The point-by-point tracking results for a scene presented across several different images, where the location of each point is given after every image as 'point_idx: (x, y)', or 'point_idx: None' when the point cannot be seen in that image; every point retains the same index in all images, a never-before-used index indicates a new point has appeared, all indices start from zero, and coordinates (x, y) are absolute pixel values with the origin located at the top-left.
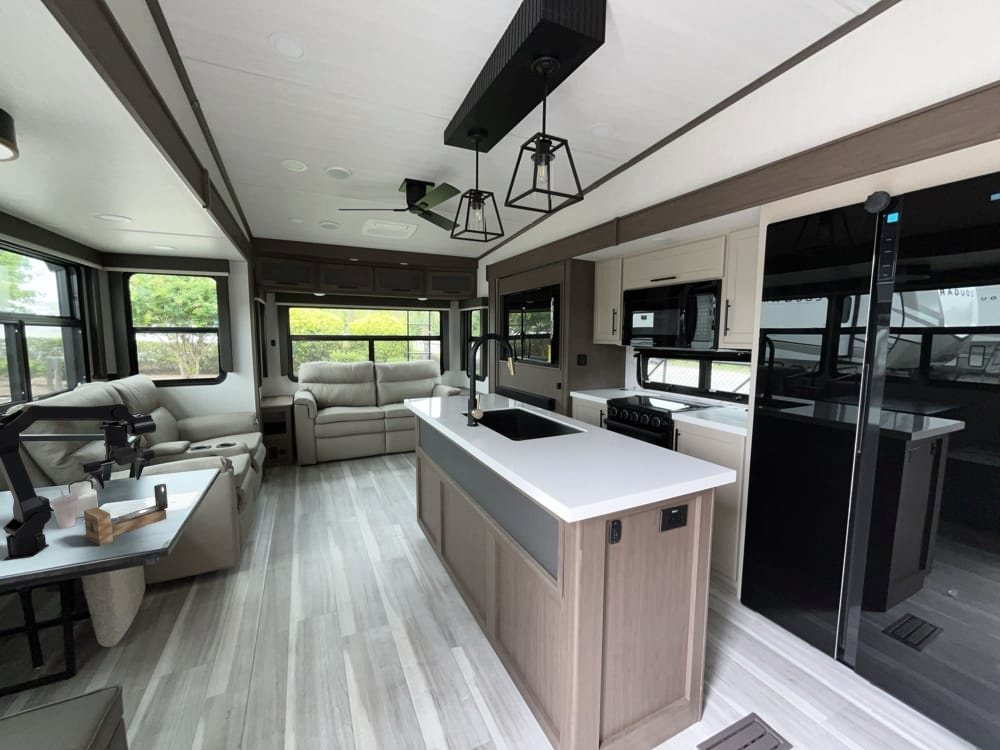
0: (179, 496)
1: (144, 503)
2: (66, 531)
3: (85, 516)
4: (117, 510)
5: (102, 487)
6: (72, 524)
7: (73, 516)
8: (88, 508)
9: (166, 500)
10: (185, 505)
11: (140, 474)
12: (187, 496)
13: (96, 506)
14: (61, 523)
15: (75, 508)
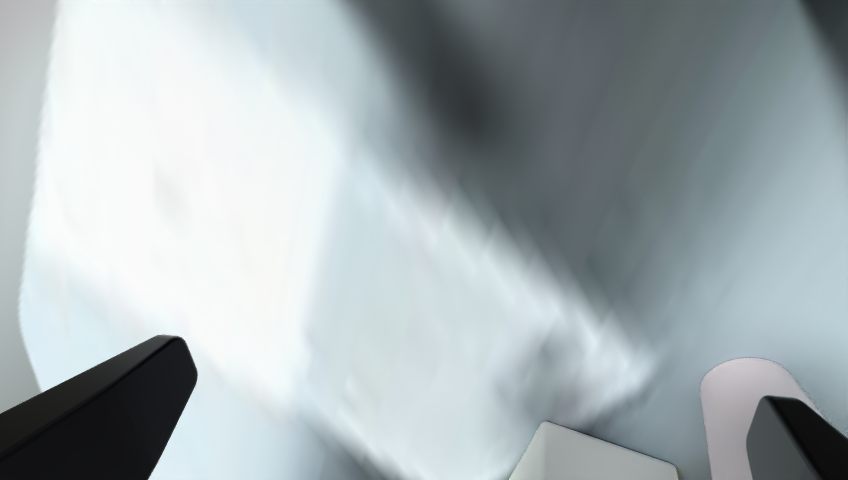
0: (133, 265)
1: (313, 339)
2: (822, 298)
3: None
4: (454, 369)
5: (829, 426)
6: (738, 366)
7: (749, 413)
8: (586, 476)
9: None
10: (97, 25)
11: (36, 399)
12: (89, 218)
13: (543, 464)
14: (812, 404)
15: (745, 473)
